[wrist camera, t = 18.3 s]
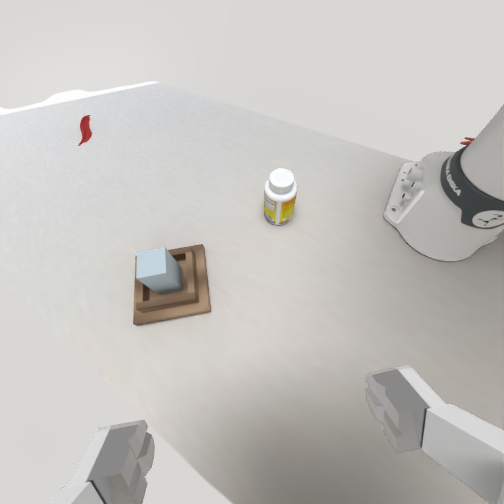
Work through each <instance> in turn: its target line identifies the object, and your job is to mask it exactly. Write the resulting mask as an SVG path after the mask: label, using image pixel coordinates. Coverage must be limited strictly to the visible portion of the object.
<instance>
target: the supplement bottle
mask: <svg viewBox="0 0 504 504" xmlns="http://www.w3.org/2000/svg"><path fill="white" fill-rule="evenodd" d="M296 194H297V184H296V182H295V181H294V175H293V173H292V172H291V171H289V170H287V169H283V168H280V169H276V170H274V171H273V172H272V173H271V174H270V177H269V179H268V180H267V181H266V183H265V186H264V214H265V217H266V219H267V220H268V221H269V222H270V223H272V224H275V225H282V224H285V223H287V222H288V221H289V220H290V219H291V218H292V215H293V210H294V204H295V199H296Z"/></svg>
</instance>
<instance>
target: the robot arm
mask: <svg viewBox="0 0 504 504" xmlns="http://www.w3.org/2000/svg"><path fill="white" fill-rule="evenodd" d="M465 139H467V140H470V141H467V142H461V143H460V144H463V145H467V146H465V147H463V148H462V149H460V150H459V151H457V152H434V153H430V154H428V155H426V156H425V157H424V158H423V159H422V160H421V161H420V162H410V163H406V164H403V165H402V167H401V168H400V170H399V173H398V176H397V178H396V181H395V184H394V187H393V190H392V192H391V195H390V198H389V201H388V204H387V206H386V209H385V212H384V218H385V219H386V220H387V221H388V222H389V223H390V224H391V225H393V226H394V227H396V229H397V230H398V231H399V232H400V234H401V235H402V237H403V238H404V240H405V241H406V242H407V243H408V244H409V245H410V246H411V247H413V248H414V249H415V250H417V251H418V252H420V253H422V254H424V255H426V256H428V257H430V258H433V259H437V260H441V261H459V260H463V259H466V258H468V257H469V256H471V255H472V254H473V253H474V252H475V251H476V250H477V249H479V248H480V247H481V246H483V245H486V244H489V243H491V242H493V241H494V240H495V239H496V238H497V234H499V233H500V232H501V231H503V230H504V105H503V106H502V107H501V109H500V110H499V111H498V112H497V114H496V115H495V116H494V118H493V119H492V120H491V121H490V122H489V123H488V125H487V126H486V127H485V128H484V129H483V130H482V131H481V133H480V134H479V135H478V136H477V137H476V138H475V139H474V138H467V137H466V138H465ZM471 141H472V142H471ZM392 210H393V211H394V212H393V211H392ZM366 382H367V384H368V385H369V387H368V388H367V389H366V399H367V402H368V406H369V408H370V410H371V412H372V414H373V416H374V417H375V419H376V420H377V421H379V422H380V423H382V424H383V425H384V429H383V432H384V434H385V436H386V437H387V439H388V441H389V442H390V444H391V446H392V447H393V449H394V450H395V452H396V453H400V452H406V451H411V450H416V449H422V451H423V452H425V453H426V454H427V455H428V456H430V457H431V458H432V459H434V460H435V461H436V462H437V463H439V464H440V465H441V466H442V467H444V468H445V469H446V470H448V471H449V472H450V473H451V474H453V475H454V476H455V477H456V478H458V479H459V480H460V481H462V482H463V483H464V484H465V485H467V486H468V487H469V488H470V489H472V490H473V491H474V492H475V493H477V494H478V495H479V496H481V497H482V498H483V499H484V500H486V501H487V502H488V503H489V504H504V430H502V429H500V428H498V427H496V426H494V425H492V424H490V423H488V422H486V421H484V420H482V419H480V418H478V417H476V416H474V415H472V414H470V413H468V412H466V411H464V410H462V409H460V408H458V407H456V406H455V405H453V404H446V403H445V402H444V401H443V400H442V399H441V398H440V397H439V396H438V395H437V394H436V393H435V392H434V391H433V390H432V389H431V388H430V386H429V385H428V384H427V383H426V382H425V381H424V380H423V379H422V378H421V377H420V376H419V375H418V374H417V373H416V372H415V371H414V370H413V369H412V368H411V367H410V366H408V365H404V366H399V367H394V368H388V369H384V370H379V371H375V372H370V373H367V375H366ZM147 428H148V425H147V423H146V421H145V420H140V421H134V422H129V423H123V424H117V425H112V426H107V427H102V428H99V429H98V430H97V431H96V432H95V433H94V435H93V437H92V439H91V441H90V443H89V445H88V447H87V449H86V451H85V453H84V455H83V457H82V459H81V461H80V463H79V464H78V466H77V468H76V471H75V472H74V474H73V476H72V478H71V480H70V482H69V484H68V486H66V487H63V488H61V490H60V491H59V492H58V493H57V494H56V495H55V496H54V497H53V498H52V499H51V500H50V501H49V502H48V503H47V504H142V503H143V499H144V495H145V491H146V487H147V481H146V478H145V476H146V474H147V473H148V471H149V470H150V469H151V467H152V463H153V459H154V449H155V446H154V440H153V437H152V435H151V434H149V433H147V432H146V431H147Z"/></svg>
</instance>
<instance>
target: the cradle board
mask: <svg viewBox="0 0 504 504" xmlns="http://www.w3.org/2000/svg"><path fill="white" fill-rule="evenodd" d="M168 252H169V253H170V254H171V255H172V256H173V258H174V259H175V260H176V261H177V263H178V264H179V265H180V266H181V268H182V278H183V290H181V291H176V292H171V293H166V294H161V295H159V294H157V293H156V292H155V291H153V290H152V289H150V288H149V287H148V286H146V285H145V284H143V283H142V282H140V281H139V280H138V279H136V273H137V256H136V262H135V290H134V318H133V324H134V325H137V326H138V325H144V324H149V323H154V322H159V321H165V320H170V319H175V318H181V317H186V316H191V315H197V314H202V313H207V312H211V308H210V298H209V289H208V279H207V270H206V260H205V251H204V246H203V244H201V245H195V246H189V247H184V248H178V249H172V250H168Z"/></svg>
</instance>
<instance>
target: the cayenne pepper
mask: <svg viewBox="0 0 504 504" xmlns="http://www.w3.org/2000/svg"><path fill="white" fill-rule="evenodd" d="M89 116H90V115H88V116H84V117H83V118H82V120H81V123H80V129H81V132H82V141H81V142H80V144H79V145H81V144H82V143H84V142H87V141H88V140H89V139H90V137H91V131H90V129H89V120H90V118H89ZM79 145H78V146H79Z"/></svg>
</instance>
